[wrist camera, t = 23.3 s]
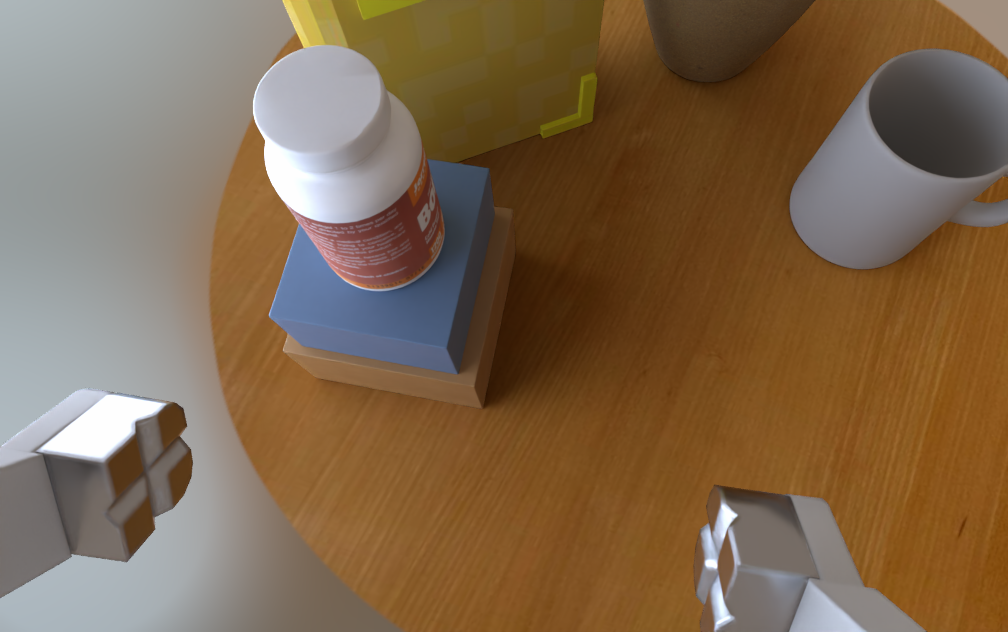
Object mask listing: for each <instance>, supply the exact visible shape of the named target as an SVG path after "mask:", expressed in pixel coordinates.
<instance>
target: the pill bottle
mask: <svg viewBox="0 0 1008 632" xmlns="http://www.w3.org/2000/svg"><path fill="white" fill-rule="evenodd" d="M253 112H254V118H255V122H256V124H257V127H258V129H259V130H260V132H261V134H262V135H263V137H264V139H265V140H266V143H265V163H266V169H267V172H268V175H269V178H270V180H271V182H272V184H273V186H274V188H275V189H276V191H277V193H278V194H279V196H280V197H281V199H282V200H283V201H284V203H285V204H286V206H287V207H288V208H289V210H290V211H291V212H292V214H293V215H294V216H295V218H296V219H297V221H298V222H299V223H300V225H301V226H302V228H303V229H304V230H305V232H306V233H307V235H308V236H309V237H310V239H311V240H312V242H313V243H314V244H315V246H316V247H317V249H318V250H319V252H320V253H321V255H322V256H323V257H324V259H325V260H326V262H327V263H328V264H329V266H330V267H331V268H332V269H333V270H334V271H335V273H336V274H337V275H338V276H340V277H341V278H342V279H343V280H344V281H346V282H348V283H349V284H351V285H353V286H356V287H358V288H361V289H365V290H370V291H389V290H394V289H398V288H401V287H404V286H406V285H408V284H410V283H412V282H414V281H415V280H417V279H418V278H420V277H421V276H422V275H424V274H425V273H426V272H427V271H428V270H429V269H430V267H431V266H432V265H433V264H434V262H435V261H436V259H437V257H438V255H439V253H440V251H441V248H442V245H443V241H444V234H445V228H444V220H443V215H442V211H441V207H440V204H439V200H438V197H437V193H436V190H435V186H434V182H433V179H432V175H431V172H430V167H429V164H428V161H427V157H426V154H425V150H424V147H423V143H422V140H421V136H420V133H419V131H418V128H417V125H416V122H415V120H414V118H413V116H412V115H411V113H410V112H409V110H408V109H407V108H406V106H405V105H404V104H403V103H402V102H401V101H400V100H399V99H398V98H397V97H396V96H394V95H393V94H392V93H390V92H389V91H387V90H386V88H385V85H384V83H383V80H382V77H381V75H380V73H379V72H378V70H377V68H376V67H375V66H374V65H373V63H372V62H371V61H370V60H368V59H367V58H366V57H365V56H363V55H362V54H360V53H358V52H356V51H354V50H352V49H348V48H345V47H341V46H333V45H320V46H312V47H308V48H304V49H301V50H298V51H296V52H293V53H291V54H289V55H287V56H286V57H284V58H283V59H281V60H280V61H278V62H277V63H276V64H275V65H273V66H272V67H271V68H270V69H269V70H268V71H267V73H266V74H265V75H264V77H263V78H262V79H261V81H260V83H259V85H258V87H257V90H256V92H255V96H254V101H253Z"/></svg>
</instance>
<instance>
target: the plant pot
mask: <svg viewBox="0 0 1008 632" xmlns="http://www.w3.org/2000/svg"><path fill="white" fill-rule="evenodd" d="M814 1H815V0H644V5H645V9H646V13H647V18H648V22H649V26H650V29H651V33H652V36H653V40H654V43H655V46H656V49H657V52H658V54H659V57H660V58H661V60H662V61H663V62H664V64H665V65H666V66H667V67H668V68H669V69H670V70H672V71H673V72H675V73H676V74H678V75H680V76H682V77H684V78H686V79H689V80H693V81H699V82H717V81H722V80H727V79H729V78H731V77H734V76H736V75H737V74H739V73H740V72H742V71H743V70H744V69H746V68H747V67H748V66H749V65H750V64H752V63H753V62H754V61H755V60H756V59H758V58H759V57H760V56H761V55H762V54H763V53H764V52H765V51H767V50H768V49H769V48H770V47H771V46H772V45H773V44H774V43H775V42H776V41H777V40H778V39H779V38H780V37H781V36H782V35H783V34H784V33H785V32H786V31H787V30H788V29H789V28H790V27H791V26H792V25H793V24H794V23H795V22H796V21H797V20H798V19H799V18H800V17H801V16H802V15H803V14H804V13H805V11H806V10H807V9H808V8H809V7H810V6H811V5H812V4H813V3H814Z"/></svg>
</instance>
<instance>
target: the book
mask: <svg viewBox="0 0 1008 632" xmlns="http://www.w3.org/2000/svg"><path fill="white" fill-rule="evenodd" d="M282 1H283V3H284V5H285V8H286V10H287V12H288V14H289V16H290V19H291V21H292V23H293V25H294V27H295V29H296V32H297V34H298V36H299V38H300V40H301V42H302V45H303V47H304V48H308V47H312V46H320V45H333V46H341V47H345V48H348V49H352V50H354V51H356V52H358V53H360V54H362V55H363V56H365V57H366V58H367V59H368V60H370V61H371V62H372V63H373V65H374V66H375V67H376V68H377V70H378V72H379V73H380V75H381V77H382V80H383V83H384V85H385V88H386V90H387V91H389V92H390V93H392V94H393V95H394V96H396V97H397V98H398V99H399V100H400V101H401V102H402V103H403V104H404V105H405V106H406V108H407V109H408V110H409V112H410V113H411V115H412V116H413V118H414V120H415V122H416V125H417V128H418V131H419V133H420V136H421V140H422V143H423V147H424V150H425V154H426V157H427V159H431V160H438V161H444V162H451V163H456V162H459V161H462V160H465V159H468V158H471V157H474V156H477V155H480V154H482V153H485V152H488V151H491V150H494V149H497V148H500V147H503V146H506V145H509V144H512V143H514V142H517V141H520V140H523V139H526V138H529V137H532V136H535V135H538V134H541V136H542V138H543V139H544V138H547V137H550V136H553V135H556V134H558V133H561V132H564V131H567V130H570V129H573V128H576V127H579V126H582V125H585V124H587V123H590V122H592V120H593V109H594V101H595V94H596V86H597V79H598V78H597V76H596V74H595V70H596V62H597V54H598V46H599V38H600V30H601V22H602V14H603V6H604V0H282Z"/></svg>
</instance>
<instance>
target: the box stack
mask: <svg viewBox="0 0 1008 632" xmlns="http://www.w3.org/2000/svg"><path fill="white" fill-rule="evenodd" d="M427 161H428V164H429V167H430V172H431V175H432V179H433V182H434V186H435V190H436V193H437V197H438V200H439V204H440V207H441V211H442V215H443V220H444V228H445V234H444V241H443V245H442V248H441V251H440V253H439V255H438V257H437V259H436V261H435V262H434V264H433V265H432V266H431V267H430V269H429V270H428V271H427V272H426V273H425V274H424V275H422V276H421V277H420V278H418V279H417V280H415V281H414V282H412V283H410V284H408V285H406V286H404V287H401V288H398V289H394V290H389V291H370V290H365V289H361V288H358V287H356V286H353V285H351V284H349V283H348V282H346V281H344V280H343V279H342V278H341V277H340V276H338V275H337V274H336V273H335V271H334V270H333V269H332V268H331V267H330V266H329V264H328V263H327V262H326V260H325V259H324V257H323V256H322V255H321V253H320V252H319V250H318V249H317V247H316V246H315V244H314V243H313V242H312V240H311V239H310V237H309V236H308V235H307V233H306V232H305V230H304V229H303V228H302V226H301V225H300V223H299V226H298V229H297V232H296V235H295V238H294V241H293V244H292V247H291V250H290V253H289V256H288V260H287V263H286V266H285V269H284V272H283V275H282V278H281V281H280V284H279V287H278V290H277V293H276V296H275V299H274V302H273V305H272V308H271V311H270V314H269V317H270V318H271V319H272V320H273V321H275V322H276V323H277V324H278V325H279V326H280V327H281V328H282V329H284V330H285V331H286V332H287V333H288V336H287V339H286V343H285V346H284V349H283V352H284V353H285V354H287V355H288V356H289V357H290V358H292V359H293V360H294V361H296V362H297V363H298V364H299V365H301V366H302V367H303V368H304V369H306V370H307V371H308V372H309V373H311V374H312V375H313V376H314V377H316V378H320V379H325V380H331V381H336V382H341V383H346V384H352V385H357V386H362V387H368V388H373V389H378V390H383V391H389V392H394V393H399V394H405V395H410V396H415V397H420V398H426V399H431V400H436V401H442V402H447V403H452V404H457V405H463V406H468V407H473V408H479V409H483V406H484V401H485V396H486V392H487V387H488V382H489V377H490V373H491V368H492V363H493V359H494V354H495V349H496V344H497V340H498V335H499V330H500V325H501V321H502V316H503V311H504V306H505V302H506V297H507V292H508V287H509V283H510V278H511V273H512V269H513V264H514V259H515V254H516V244H515V229H514V214H513V209H510V208H504V207H497V206H494V202H493V194H492V186H491V177H490V169H489V168H485V167H478V166H471V165H464V164H458V163H451V162H444V161H438V160H431V159H427Z"/></svg>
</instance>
